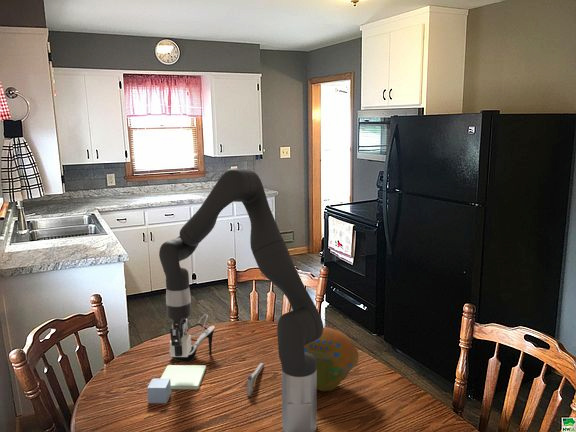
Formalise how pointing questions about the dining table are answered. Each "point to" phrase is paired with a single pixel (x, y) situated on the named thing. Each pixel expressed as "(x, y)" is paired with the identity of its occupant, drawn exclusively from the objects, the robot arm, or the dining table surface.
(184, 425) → the dining table surface
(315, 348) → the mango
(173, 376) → the base plate
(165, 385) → the brick top
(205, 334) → the sandal
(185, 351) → the white cube
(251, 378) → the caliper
